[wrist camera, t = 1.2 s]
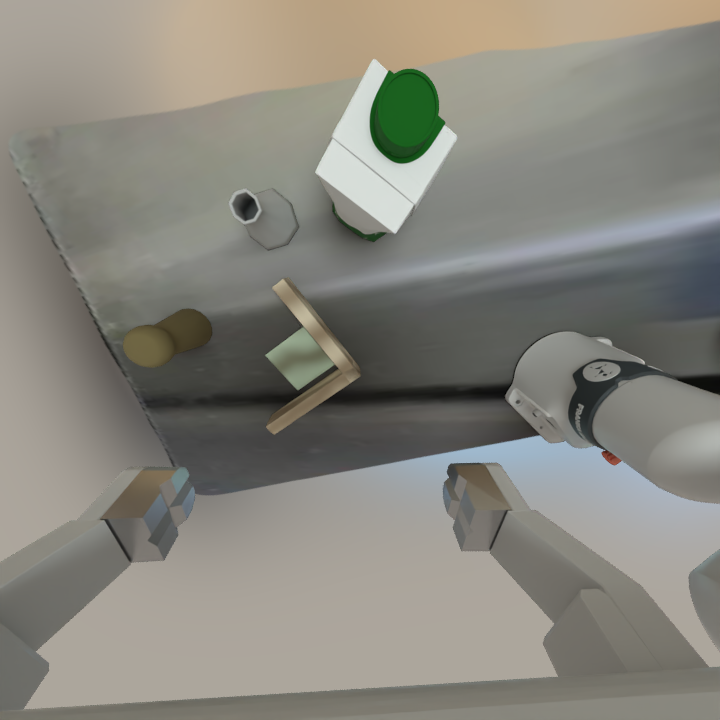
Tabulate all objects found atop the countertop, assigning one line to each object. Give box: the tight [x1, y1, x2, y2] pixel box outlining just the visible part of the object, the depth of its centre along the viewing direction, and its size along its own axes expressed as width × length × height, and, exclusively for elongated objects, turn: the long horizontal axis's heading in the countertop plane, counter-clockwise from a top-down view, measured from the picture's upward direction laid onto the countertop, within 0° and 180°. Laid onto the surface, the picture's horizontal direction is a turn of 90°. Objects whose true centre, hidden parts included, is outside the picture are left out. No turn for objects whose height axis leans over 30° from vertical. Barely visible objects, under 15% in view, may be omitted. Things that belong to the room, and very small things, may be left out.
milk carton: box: [315, 59, 457, 242], centre depth 27 cm, size 9×9×20 cm
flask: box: [228, 188, 299, 250], centre depth 32 cm, size 7×7×10 cm
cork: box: [123, 309, 212, 368], centre depth 36 cm, size 6×6×11 cm
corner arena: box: [265, 277, 361, 434], centre depth 42 cm, size 18×18×4 cm
